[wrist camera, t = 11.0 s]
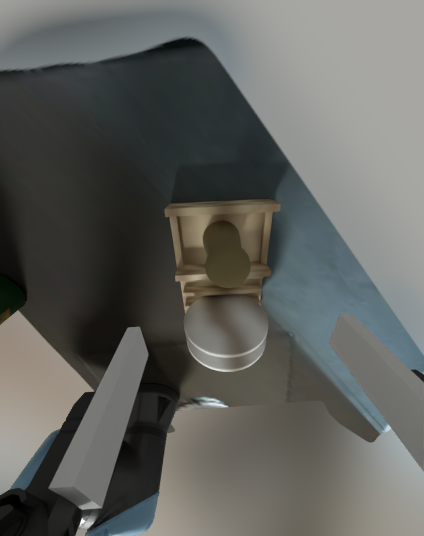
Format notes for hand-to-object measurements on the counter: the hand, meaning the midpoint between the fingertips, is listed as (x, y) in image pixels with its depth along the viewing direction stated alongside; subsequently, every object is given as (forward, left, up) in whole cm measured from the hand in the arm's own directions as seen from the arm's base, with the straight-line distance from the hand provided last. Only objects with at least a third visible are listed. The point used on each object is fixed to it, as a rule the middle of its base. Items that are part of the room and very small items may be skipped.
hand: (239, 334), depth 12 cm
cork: (0, 0, -19) cm, 19 cm away
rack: (0, -5, -20) cm, 21 cm away
